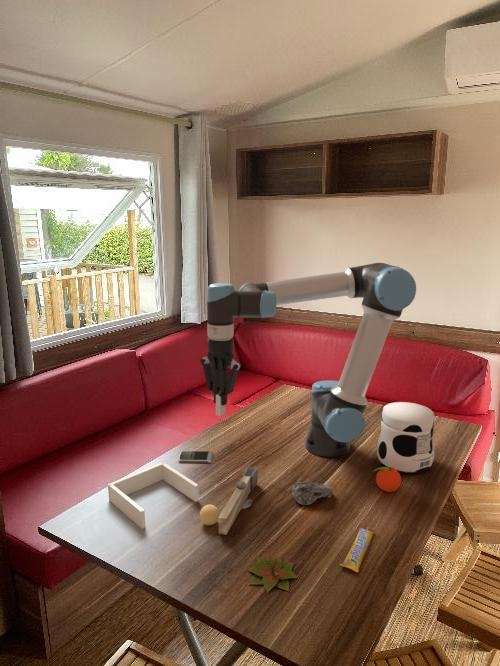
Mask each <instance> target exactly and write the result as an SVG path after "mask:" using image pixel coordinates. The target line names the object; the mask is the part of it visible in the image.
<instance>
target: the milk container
mask: <svg viewBox="0 0 500 666" xmlns="http://www.w3.org/2000/svg"><path fill="white" fill-rule="evenodd" d="M434 428H435V414H434V411H432V409H430V408H429V407H427V406H425V405H422V404H418V403H415V402H414V403H413V402H408V401H407V402H406V401H397V402H396V401H395V402H391V403H387V404H386V405H384V406H383V408H382V413H381V421H380V434H379V437H378V441H377V443H376V455H377V458H378V460H379V462H380V463H381V464H382V465H384V467H392V468H394V469H395V470H397V471H398V473H402V474H418V473H422V472H425V471H427V470H429V469H430V468H431V466H432V465H433V463H434V459H435V447H434V442H433V441H434V439H433V437H434V436H433V435H434Z"/></svg>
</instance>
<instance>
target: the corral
mask: <svg viewBox="0 0 500 666" xmlns="http://www.w3.org/2000/svg"><path fill="white" fill-rule="evenodd" d="M160 481H163V482H165V483H167V484H169V485H170V486H171V487H173V488H174V489H176V490H177V491H178V492H180V493H182V494H183V495H185V496H186V497H188V499H190V500H192V501H193V502H195V503H198V502H199V499H200V498H199V497H200V496H199V493H200V492H199V484H198V483H196V482H194V481H193V480H192V479H191V478H188V477H187V476H185V475H184V474H182V473H181V472H179V471H177V470H176V469H174V468H173V467H171V466H170V465H168V464H166V463H165V462H164V461H162V462H159V463H158V464H155V465H152V466H151V467H147V468H145V469H142V470H141V471H140V470H139V471H138V472H136V473H133V474H129V475H127V476H125V477H122V478H120V479H118V480H115V481H113V482H111V483H108V484H107V491H108V501H109V502H111V504H112V505H113V506H115V507H116V508H117V509H118V510H119V511H121V512H122V513H123V514H124V515H126V516H127V518H129V519H130V520H131V521H132V522H133V523H135V525H137V526H138V528H140V529H141V530H143V529H145V528H146V518H145V517H146V515H145V513H146V512H145V509H144V508H142V507H141V506H140V505H139V504H137V503H136V502H135V500H133V499H132V498H130V497H129V496H128V495H130V494H133V493H135V492H138V491H139V490H141V489H145V488H146V487H149V486H151V485H153V484H156V483H158V482H160Z"/></svg>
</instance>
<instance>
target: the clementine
mask: <svg viewBox="0 0 500 666" xmlns="http://www.w3.org/2000/svg"><path fill="white" fill-rule="evenodd" d="M375 471H377V473H376V476H375V477H376V478H375V479H376V481H375V482H376V484H377V487H379V488H380V489H381V490H382V491H383V492H386V493H392V492H395V491H397V490H398V489H399V488H400V487H401V484H402V477H401V473H400V472H398V471H397V470H395V469H394V468H392V467H386V466H380V467H378V468H375V469H374V471H373V472H375Z"/></svg>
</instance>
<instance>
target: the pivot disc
mask: <svg viewBox="0 0 500 666" xmlns="http://www.w3.org/2000/svg"><path fill="white" fill-rule="evenodd" d="M252 505H253V500H252V498H251V497H249V496H248V497H247V498H246V500H245V502H244V504H243V506H242V507H241V509H240V510H246V509H249V508H251V506H252Z"/></svg>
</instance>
